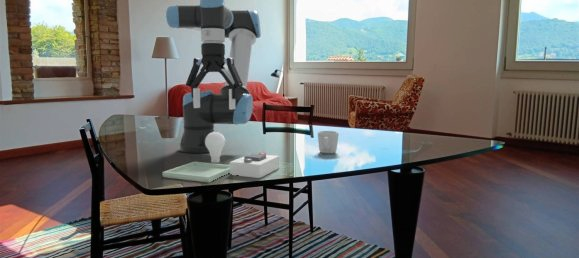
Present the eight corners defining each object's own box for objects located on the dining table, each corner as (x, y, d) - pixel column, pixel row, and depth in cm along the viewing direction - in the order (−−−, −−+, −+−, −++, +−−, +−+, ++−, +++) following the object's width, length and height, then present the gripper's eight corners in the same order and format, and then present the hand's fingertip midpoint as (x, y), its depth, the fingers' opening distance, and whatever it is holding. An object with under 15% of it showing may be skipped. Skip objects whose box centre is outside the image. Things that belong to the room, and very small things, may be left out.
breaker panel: (230, 174, 127) (229, 159, 126) (251, 165, 140) (251, 151, 139) (259, 178, 123) (259, 162, 123) (279, 168, 136) (279, 153, 135)
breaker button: (244, 169, 130) (244, 156, 130) (252, 165, 135) (251, 153, 134) (259, 170, 128) (259, 157, 128) (266, 167, 133) (266, 154, 132)
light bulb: (206, 162, 145) (205, 130, 143) (226, 162, 145) (225, 130, 144) (204, 166, 138) (203, 133, 137) (224, 166, 139) (224, 133, 137)
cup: (336, 156, 155) (336, 135, 154) (315, 155, 157) (315, 134, 155) (339, 151, 165) (339, 131, 164) (318, 150, 167) (319, 130, 166)
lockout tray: (162, 177, 124) (162, 172, 124) (194, 165, 139) (194, 161, 139) (208, 182, 118) (208, 177, 118) (237, 170, 133) (236, 165, 133)
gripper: (173, 43, 137) (175, 108, 140) (241, 41, 128) (242, 110, 131) (187, 44, 144) (189, 106, 147) (252, 42, 135) (253, 108, 138)
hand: (214, 108), depth 139 cm, fingers open, 13 cm apart
